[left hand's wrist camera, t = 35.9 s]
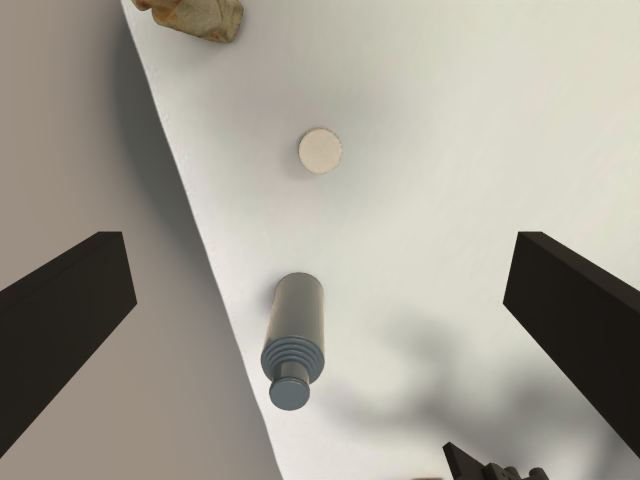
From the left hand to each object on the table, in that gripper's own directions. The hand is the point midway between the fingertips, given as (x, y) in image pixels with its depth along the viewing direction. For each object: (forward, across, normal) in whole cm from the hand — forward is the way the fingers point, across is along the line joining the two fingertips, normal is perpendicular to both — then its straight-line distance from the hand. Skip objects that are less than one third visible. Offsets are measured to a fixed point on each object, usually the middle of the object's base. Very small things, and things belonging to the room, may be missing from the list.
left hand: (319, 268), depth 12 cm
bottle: (+30, -3, -18) cm, 35 cm away
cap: (+28, 0, 0) cm, 28 cm away
